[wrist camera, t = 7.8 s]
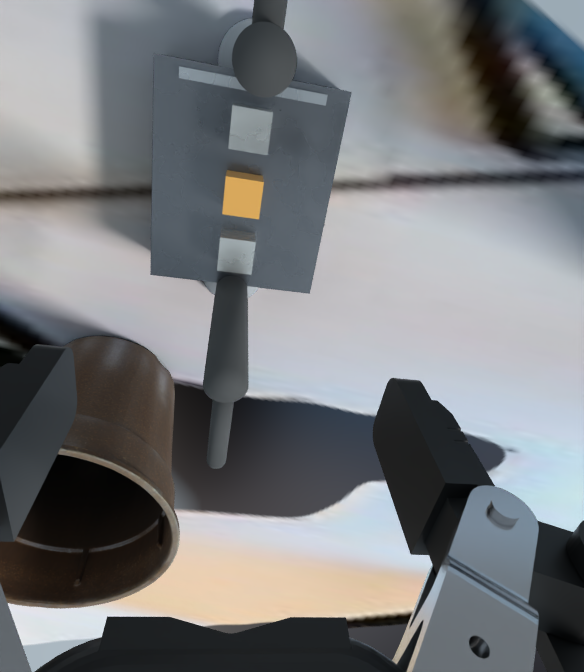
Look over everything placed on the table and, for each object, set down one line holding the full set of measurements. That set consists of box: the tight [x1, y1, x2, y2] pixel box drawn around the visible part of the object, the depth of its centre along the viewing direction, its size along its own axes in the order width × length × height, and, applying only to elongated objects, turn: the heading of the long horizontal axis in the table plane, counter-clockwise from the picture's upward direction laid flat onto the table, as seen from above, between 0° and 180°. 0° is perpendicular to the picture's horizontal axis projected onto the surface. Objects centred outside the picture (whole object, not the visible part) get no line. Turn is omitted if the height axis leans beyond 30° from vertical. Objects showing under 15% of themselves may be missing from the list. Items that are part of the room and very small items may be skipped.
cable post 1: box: [218, 0, 297, 98], centre depth 22 cm, size 5×10×16 cm, turn 170°
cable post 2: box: [203, 276, 259, 469], centre depth 32 cm, size 5×10×16 cm, turn 170°
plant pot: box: [0, 336, 180, 608], centre depth 36 cm, size 16×16×16 cm
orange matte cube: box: [222, 170, 264, 219], centre depth 30 cm, size 2×2×2 cm
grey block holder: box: [151, 53, 351, 294], centre depth 31 cm, size 12×14×6 cm
